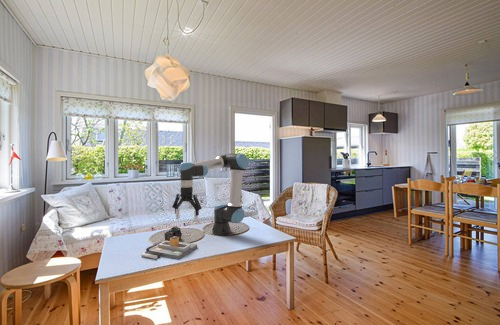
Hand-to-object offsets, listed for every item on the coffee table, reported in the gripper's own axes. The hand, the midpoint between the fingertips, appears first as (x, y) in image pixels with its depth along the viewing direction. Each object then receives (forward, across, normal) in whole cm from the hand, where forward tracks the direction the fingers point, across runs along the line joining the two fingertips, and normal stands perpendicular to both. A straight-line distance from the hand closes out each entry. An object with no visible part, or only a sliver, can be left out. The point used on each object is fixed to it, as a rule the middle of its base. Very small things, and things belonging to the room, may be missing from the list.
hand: (186, 219), depth 153 cm
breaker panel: (+22, -10, +1) cm, 24 cm away
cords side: (+22, -25, +1) cm, 33 cm away
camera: (+22, -23, +18) cm, 36 cm away
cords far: (+22, -18, -12) cm, 30 cm away
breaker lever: (+19, -10, +1) cm, 22 cm away
